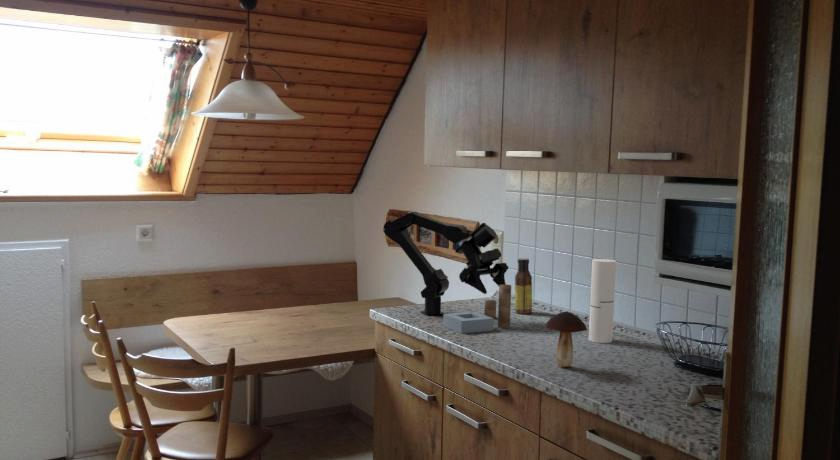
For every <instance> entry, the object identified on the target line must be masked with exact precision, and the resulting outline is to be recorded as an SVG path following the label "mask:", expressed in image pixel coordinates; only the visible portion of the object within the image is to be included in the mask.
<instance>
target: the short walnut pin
mask: <svg viewBox="0 0 840 460" xmlns="http://www.w3.org/2000/svg"><path fill="white" fill-rule="evenodd" d="M483 315H486V316H489V317H491V318H494V319H496V318H497V317H496V316H497V300H496V299H485V300H484V313H483Z"/></svg>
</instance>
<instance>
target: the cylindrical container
mask: <svg viewBox="0 0 840 460" xmlns="http://www.w3.org/2000/svg"><path fill="white" fill-rule="evenodd" d="M616 265H617V260H615V259H607V258H594V259H592V260H591V276H590V277H591V280H590V299H589V300H590V302H589V303H590V304H589V321H588V322H589V324H588V341H589V342H593V343H597V344H599V343H600V344H609V343H613V334H614V333H613V331H614V312H615V311H614V308H615V291H616V290H615V289H616V288H615V286H616V267H617V266H616Z"/></svg>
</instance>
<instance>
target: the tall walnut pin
mask: <svg viewBox="0 0 840 460" xmlns="http://www.w3.org/2000/svg"><path fill="white" fill-rule="evenodd" d="M511 299H512V284H506V283H505V284H502V285H499V286H498V307H497V309H498V310H497V311H498V313H497V328H498V329H510V327H511V310H512V309H511V305H512V304H511V303H512V300H511Z"/></svg>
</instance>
